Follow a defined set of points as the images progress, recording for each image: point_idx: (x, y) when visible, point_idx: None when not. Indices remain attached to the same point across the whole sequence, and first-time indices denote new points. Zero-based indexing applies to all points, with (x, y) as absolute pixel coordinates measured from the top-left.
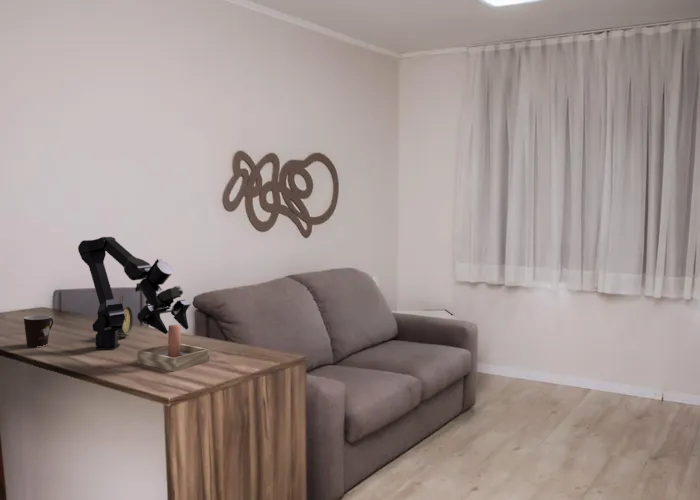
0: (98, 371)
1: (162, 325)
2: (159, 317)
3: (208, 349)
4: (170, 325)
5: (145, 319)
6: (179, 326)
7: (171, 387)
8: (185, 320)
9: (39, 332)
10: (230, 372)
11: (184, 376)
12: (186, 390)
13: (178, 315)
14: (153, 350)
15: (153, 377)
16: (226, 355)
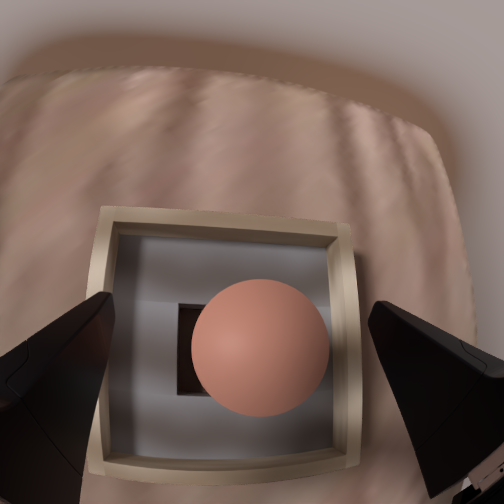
0: None
1: (438, 328)
2: (496, 372)
3: (104, 209)
4: (274, 405)
5: (477, 491)
6: (244, 287)
7: (407, 159)
8: (69, 331)
9: None
10: (208, 102)
11: (336, 180)
12: (391, 125)
13: (46, 481)
14: (266, 464)
15: (404, 251)
16: (12, 237)
